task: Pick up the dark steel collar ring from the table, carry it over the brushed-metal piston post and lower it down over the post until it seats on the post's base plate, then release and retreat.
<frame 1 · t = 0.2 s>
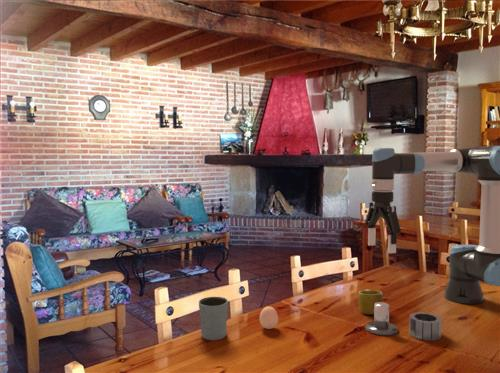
hand: (381, 249, 164), 27 cm above the table, fingers open, 13 cm apart
mug: (369, 311, 178), on the table
ring: (425, 334, 155), on the table
piston post: (381, 329, 159), on the table
egg: (268, 329, 161), on the table
grey cup: (213, 335, 155), on the table
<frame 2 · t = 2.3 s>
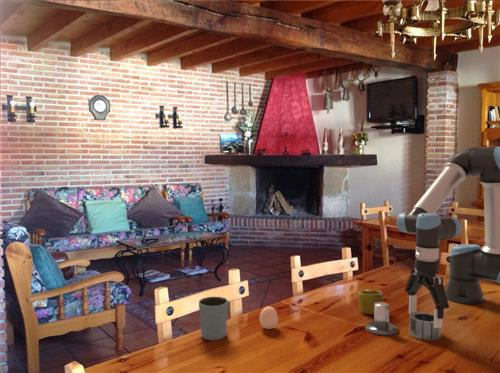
hand: (424, 320, 154), 5 cm above the table, fingers open, 13 cm apart
nothing on the table moved.
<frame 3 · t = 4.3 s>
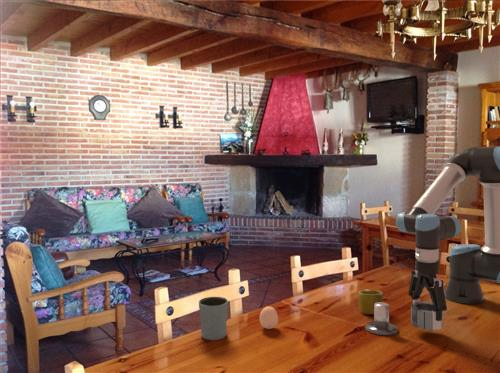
hand: (426, 323, 155), 4 cm above the table, fingers closed on ring, 10 cm apart
ring: (426, 323, 155), point 4 cm above the table, touching gripper
everything else where it was.
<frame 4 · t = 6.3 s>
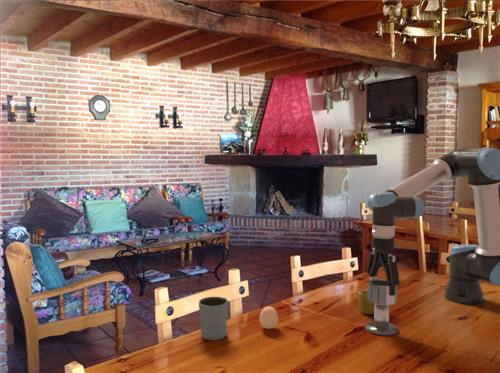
hand: (381, 299, 158), 11 cm above the table, fingers closed on ring, 10 cm apart
ring: (381, 299, 158), point 11 cm above the table, touching gripper
everything else where it was.
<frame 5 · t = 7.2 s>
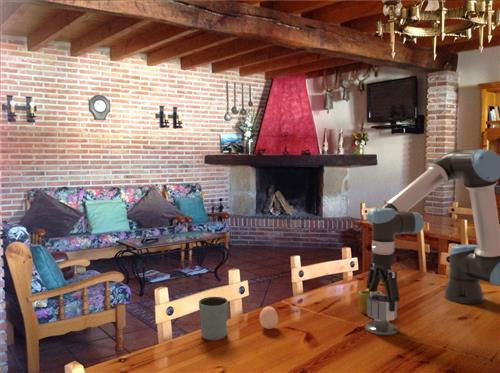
hand: (381, 314, 159), 5 cm above the table, fingers closed on ring, 10 cm apart
ring: (381, 315, 159), point 5 cm above the table, touching gripper
everything else where it was.
when the fingers open (3 cm above the table, at t = 8.2 s): ring drops 2 cm, resting on piston post.
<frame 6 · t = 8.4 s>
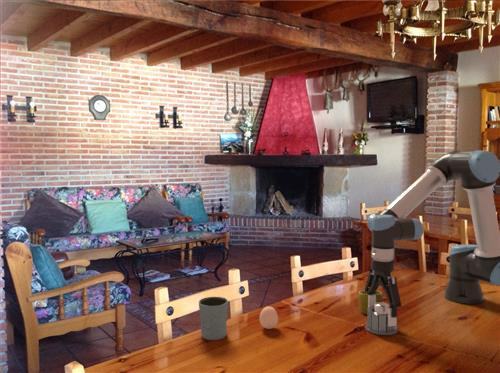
hand: (381, 318, 159), 4 cm above the table, fingers open, 12 cm apart
ring: (381, 327, 159), point 1 cm above the table, touching piston post
everything else where it was.
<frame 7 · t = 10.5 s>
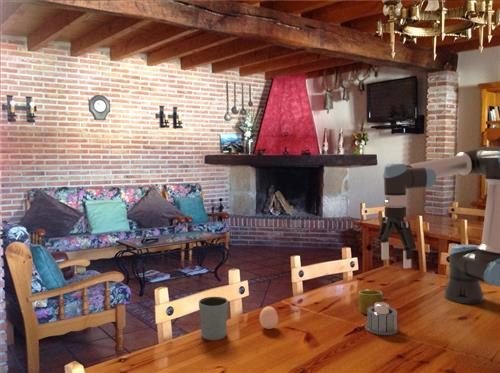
hand: (395, 263, 166), 22 cm above the table, fingers open, 13 cm apart
nothing on the table moved.
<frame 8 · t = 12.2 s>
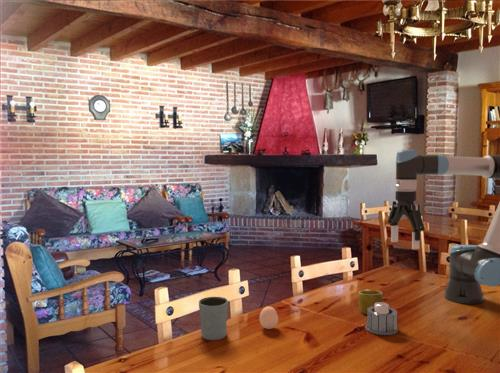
hand: (404, 245, 173), 27 cm above the table, fingers open, 13 cm apart
nothing on the table moved.
at the end: ring 0.1 cm off-centre on the piston post, point 0.8 cm above the piston post's base; ring tilted 0°; the gripper is holding nothing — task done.
